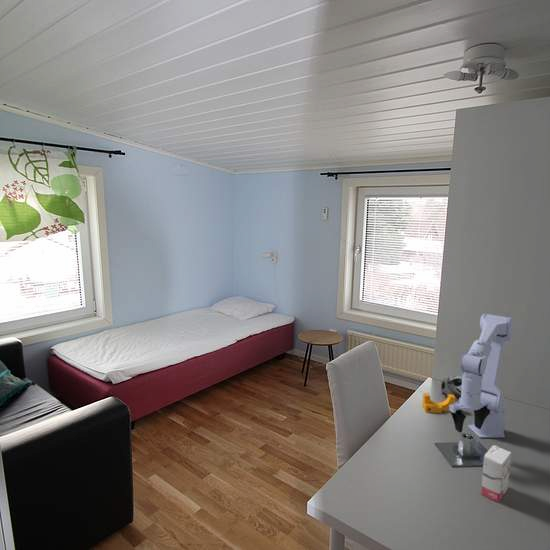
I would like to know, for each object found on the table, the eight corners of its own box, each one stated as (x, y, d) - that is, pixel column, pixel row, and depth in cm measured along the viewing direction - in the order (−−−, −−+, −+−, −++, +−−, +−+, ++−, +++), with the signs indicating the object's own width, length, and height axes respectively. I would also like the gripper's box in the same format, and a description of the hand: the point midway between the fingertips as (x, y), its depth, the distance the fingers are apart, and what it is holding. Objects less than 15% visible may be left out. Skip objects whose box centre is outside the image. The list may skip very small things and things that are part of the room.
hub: (467, 444, 127) (468, 431, 127) (477, 453, 123) (479, 439, 122) (455, 447, 126) (456, 433, 125) (465, 455, 122) (466, 441, 121)
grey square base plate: (479, 443, 131) (480, 428, 130) (500, 465, 119) (502, 449, 118) (434, 444, 130) (435, 429, 129) (451, 466, 118) (452, 450, 118)
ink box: (498, 503, 103) (502, 464, 101) (479, 493, 107) (482, 456, 105) (508, 488, 109) (512, 451, 107) (490, 479, 112) (493, 444, 111)
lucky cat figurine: (476, 395, 167) (488, 375, 158) (471, 414, 159) (483, 395, 150) (442, 379, 173) (452, 359, 165) (435, 397, 165) (445, 378, 157)
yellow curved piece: (425, 412, 152) (426, 397, 151) (422, 407, 156) (423, 393, 156) (456, 414, 151) (457, 399, 150) (452, 409, 155) (453, 394, 154)
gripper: (479, 383, 127) (476, 419, 129) (443, 388, 123) (441, 425, 125) (496, 392, 120) (493, 430, 122) (459, 397, 117) (456, 437, 119)
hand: (468, 429), depth 123 cm, fingers open, 7 cm apart
